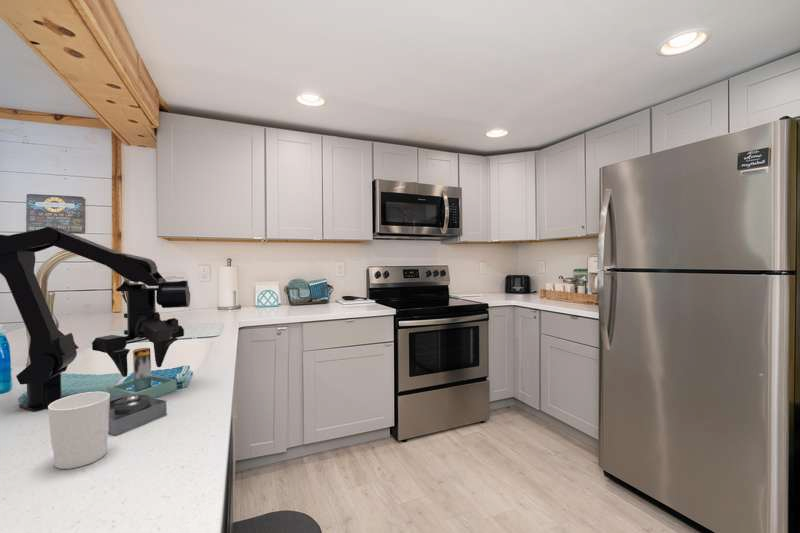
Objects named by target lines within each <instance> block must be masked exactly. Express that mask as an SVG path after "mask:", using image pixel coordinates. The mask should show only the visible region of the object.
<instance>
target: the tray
mask: <svg viewBox="0 0 800 533" xmlns="http://www.w3.org/2000/svg"><path fill="white" fill-rule="evenodd" d="M151 380H153V381H157V382H162V383H163V384H160V385H157V386H154V387H151V388H148V389H145V390H142V391H139V392H134V391H127V390H124V389H126V388H128V387H130V386H132V385H134V379H132V380H128V381H125V382H121V383H118V384H115V385H112V386H108V387H106V389H107V390H106V392H107V393H109V394H110V399H113V398H116V397H119V396H122V395H125V394H129V393H133V394H137V395H148V396H150V397H151V398H155V399H156V398H157V397H160V396H163V395H165V394H168V393H171V392H174V391H176V390H178V386H177V385H178V383H177V382H178V380H177V379H175V378H170V377H163V376H160V375H159V376H158V375H154V374H153V375H152V374H151Z"/></svg>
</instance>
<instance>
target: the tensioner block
mask: <svg viewBox="0 0 800 533" xmlns="http://www.w3.org/2000/svg"><path fill="white" fill-rule="evenodd" d="M167 413H168V412H167V400H163V399H159V398H156V397H155V398H151V397H150V396H148V395H137V394H133V393H129V394H125V395H122V396H119V397H116V398H113V399H110V411H109V430H108V435H112V436H115V437H116V436H118V435H121V434H123V433H126V432H129V431H132V430H134V429H135V428H138V427H141V426H143V425H145V424H148V423H151V422H153V421H155V420H158V419H160V418H163V417H164V416H167V415H168V414H167Z"/></svg>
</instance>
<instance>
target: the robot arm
mask: <svg viewBox="0 0 800 533" xmlns="http://www.w3.org/2000/svg"><path fill="white" fill-rule="evenodd" d="M52 247H55V248H56V247H57V249H58V248H59V249H61V250H64V251H67V252H69V253H72V254H75V255H78V256H80V257H82V258H85V259H88V260H91V261H93V262H94V263H95V262H96V263H98V264H101V265H104V266H106V267H108V268H109V269H111V270H112V271H113V272H115V273H116V274H117V275H120V276H121V277H122V278H124V279H126V280H125V281H123V282H122V284H121V285H120V286H118V287H117V288H116V289H115V290H116V292H126V307H127V308H126V310H127V311H126V313H123V318H124V319H127V329H124V330H123V334H124V335H125V336H122V335H116V334H110V335H105V336H99V337H98V336H97V337H95V338H94V339H93V341H92V344H91V345H92V346H91V347H92V348H91V349H92V351H96V352H101V353H105V354H107V355H108V356H109V358H110V359H111V360H112V362H113V363H114V364H115V366H116V368H117V369H118V371H119V373H120V375H121V376H122V377H123V378H126V377H128V355H129V353H130V351H131V349H129V348H126V347H127V344H128V345H129V344H132V343H138V342H144V341H148V342H150V343H153V351H154V361H155V365H156V367H157V368H161V367H162V366H163V363H164V360H165V358H166V354H167V353H168V350H169V348H170V346H171V345H172V344H173V343H174V342H177V341H178V340H179V338H181V337H184V336H185V328H184V327H183V326H182V325H180V324H179V319H178V318H176V317H174V318H173V317H172V318H168V319H165V320H162V319H161V315H160V312H159V311H156V304H157V305H158V306H161V308H162V309H170V308H171V309H172V308H189V307H190V304H191V292H190V286H189V281H188V280H178V281H176V280H175V281H167V280H166V279H165V278H164V277H163V275H161V273H159V271H158V266H157V264H156V262H155V261H154V260H152V259H151V258H147V257H144V256H143V257H142V256H139V255H134V254H129V253H125V252H120V251H117V250H114V249H112V248H109V247H107V246H104V245H101V244H98V243H96V242H94V241H91V240H90V239H86V238H84V237H81V236H79V235H76V234H74V233H71V232H69V231H68V230H67V231H66V230H65V229H64V228H61V227H54V226H46V227H43V228H38V229H36V230H29V231H24V232H19V233H13V234H0V275H1V276H3V278H4V279H5V281H6V283H7V286H8V288H9V291H10V294H11V295H12V298H13V300H14V302H15V304H16V307H17V309H18V312H19V314H20V317H21V319H22V321H23V323H24V326H25V328H26V330H27V333H28V335H29V339H30V340H29V346H28V357H29V362H30V364H28V365H27V366H26V367H25V368H24V369H22V370H21V371H20V372H19V373H18V374H17V375H16V376H15V377H16V379H17V381H18V383H19V384H20V385H26V402H23V403H20V404H19V406H18V407H20V408H22V409H25V410H29V411H32V412H36V411H39V410H43V409H47V408H48V406H49V405H50V404H51V403H52V402H54V401H56V400H59V399H61V398H64V397H65V396H62V394H63V393H62V373H64V372H66V371H67V369H68V366H69V365H71V364H72V363H73V362H74V361H75V359H76V357H77V354H78V352H77V349H79V346H78V344H76V342H75V338H74V334H73V333H72V332H70V333H67V334H64V333H63V332H61V331H60V330H59V328H58V327H57V325H56V322H55V319H54V318H53V315H52V312H51V310H50V307H49V306H48V302H47V301H46V298H45V296H44V294H43V291H42V288H41V287H40V286H41V285H40V283H39V281H38V279H37V276H36V274H35V265H36V260H37V258H36V254H35V253H37V252H38V253H39V252H41V251H44V250H47V249H50V248H52ZM128 280H129V281H128ZM131 282H133V283H131Z"/></svg>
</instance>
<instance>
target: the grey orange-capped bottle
mask: <svg viewBox="0 0 800 533" xmlns="http://www.w3.org/2000/svg"><path fill="white" fill-rule="evenodd" d="M132 361H133V380H134V392H139V391H142V390H145V389H148V388H151V375H152V363H151V348H150V347H142V348H141V347H140V348H135V349H133V350H132Z"/></svg>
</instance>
